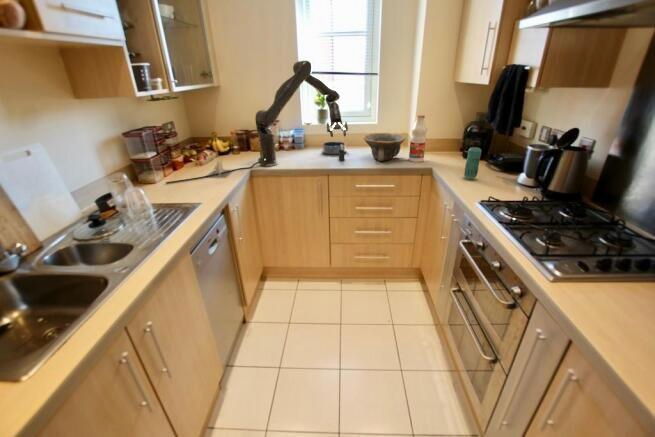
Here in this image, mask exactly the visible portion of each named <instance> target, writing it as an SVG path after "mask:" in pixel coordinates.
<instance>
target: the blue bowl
mask: <svg viewBox="0 0 655 437" xmlns="http://www.w3.org/2000/svg"><path fill="white" fill-rule="evenodd" d="M340 144H342V145H343V149H344V153H346V150H347V145H346V142H343V141H327V142H323V143H322V152H323V153H324V154H327V155H339V149H341V147H340Z"/></svg>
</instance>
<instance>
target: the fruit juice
mask: <svg viewBox="0 0 655 437" xmlns="http://www.w3.org/2000/svg"><path fill="white" fill-rule="evenodd" d="M425 118H426V117H425V114H417V115H416V120H415V122H414V125H413V126H412V128H411V136H410V140H409V152H408V160H409V161H410V162H413V163H421V162H423V161H424V160H425V152H426V143H427V136H426V134H427V132H428V129H427V126H426V123H425Z"/></svg>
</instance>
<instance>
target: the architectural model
mask: <svg viewBox="0 0 655 437" xmlns="http://www.w3.org/2000/svg"><path fill="white" fill-rule="evenodd" d="M213 170H214V171H212V172H211V173H210V174H209V175H213V174H219V175H215V176H210V177H209V178H227V176H229V175H230V174H231V173H232V172H233V171H231V172H227V173H223V174H220V173H222V172H226V171H230V170H231V169H224V166H223V161H222V159H220V160H217V161H216V164H215V166H214V167H213Z"/></svg>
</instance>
